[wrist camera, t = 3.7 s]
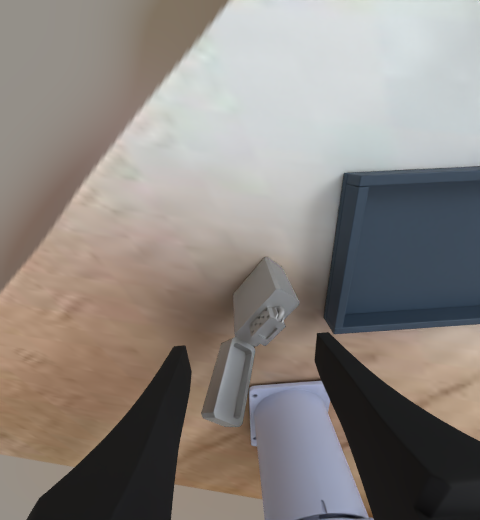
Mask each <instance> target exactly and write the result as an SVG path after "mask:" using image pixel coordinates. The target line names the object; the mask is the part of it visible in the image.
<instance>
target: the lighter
mask: <svg viewBox="0 0 480 520" xmlns="http://www.w3.org/2000/svg"><path fill="white" fill-rule="evenodd" d="M233 305H234V329H235V337H234V338H232V339H230V340H228V341H226V342H223V343H221V346H220V350H219V353H218V356H217V360H216V363H215V367H214V370H213V374H212V377H211V381H210V384H209V388H208V391H207V395H206V398H205V402H204V405H203V409H202V412H201V414H202V417H203V418H204V419H206V420H209V421H211V422H214V423H217V424H219V425H222V426H224V427H239V426H241V425H242V423H243V418H244V412H245V406H246V401H247V395H248V389H249V383H250V378H251V372H252V366H253V361H254V355H255V349H254V347H255V346H258V345H259V344H262V345H264V346H266V345H267V344H268V343H269V342H270V341H271V340H272V339H273V338H274V337H275V336H276V335H277V334H278V333H279V332H281V331H282V330H283V329H284V328H285V327H286V326H285V323H284V319H285V318H286V317H287V316H288V315H289V314H290V313H291V312H292V311H293V310H294V309H295V308H296V307H297V306H298V305H299V300H298V298H297V296H296V294H295V292H294V290H293V288H292V286H291V284H290V282H289V280H288V278H287V276H286V274H285V272H284V270H283V268H282V266H280V265H279V264H277V263H276V262H274V261H273V260H272V259H270V258H269V257H264V259H263V260H262V261H261V262H260V263H259V264H258V266H257V267H256V268H255V269H254V270H253V271H252V273H251V274H250V275H249V276H248V277H247V278H246V280H245V281H244V282H243V283H242V284H241V285H240V287H239V288H238V289H237V290H236V291H235V292H234V294H233Z"/></svg>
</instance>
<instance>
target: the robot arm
mask: <svg viewBox="0 0 480 520" xmlns="http://www.w3.org/2000/svg"><path fill="white" fill-rule="evenodd" d="M315 363H316V366H317V369H318V372H319V375H320V378H321V381H309V382H296V383H282V384H269V385H256V386H251V387H250V388H249V406H250V433H251V445H252V446H257V449H258V459H259V468H260V478H261V488H262V498H263V507H264V516H265V520H373V518H374V520H480V441H478V440H476V439H474V438H472V437H470V436H468V435H467V434H465V433H463V432H461V431H459V430H457V429H456V428H454V427H452V426H450V425H449V424H447V423H445V422H443V421H442V420H440V419H438V418H437V417H435V416H433V415H432V414H430V413H428V412H427V411H425V410H424V409H422V408H421V407H419V406H417V405H416V404H414V403H413V402H411V401H410V400H408V399H407V398H405V397H404V396H402V395H401V394H400V393H398V392H397V391H396V390H394V389H393V388H391V387H390V386H389V385H387V384H386V383H385V382H383V381H382V380H381V379H380V378H378V377H377V376H376V375H375V374H373V373H372V372H371V371H370V370H369V369H367V368H366V367H365V366H364V365H363V364H362V363H361V362H359V361H358V360H357V359H356V358H355V357H354V356H353V355H352V354H351V353H350V352H348V351H347V350H346V349H345V348H344V347H343V346H342V345H341V344H340V343H339V342H338V341H337V340H336V339H335V338H334V337H333V336H332V335H331V334H330V333H329V332H326V333H317V340H316V351H315ZM191 373H192V372H191V367H190V363H189V359H188V354H187V350H186V346H174V347H173V348H172V350H171V352H170V353H169V355H168V357H167V358H166V360H165V361H164V363H163V365H162V366H161V368H160V369H159V371H158V372H157V374H156V375H155V377H154V378H153V380H152V381H151V383H150V384H149V385H148V387H147V388H146V389H145V391H144V392H143V394H142V395H141V396H140V398H139V399H138V400H137V401H136V403H135V404H134V405H133V407H132V408H131V409H130V410H129V411H128V413H127V414H126V415H125V416H124V417H123V418H122V420H121V421H120V422H119V423H118V424H117V425H116V426H115V427H114V428H113V430H112V431H111V432H110V433H109V434H108V435H107V436H106V437H105V438H104V439H103V440H102V441H101V442H100V443H99V444H98V445H97V446H96V447H95V448H94V449H93V450H92V451H91V452H90V453H89V454H88V455H87V456H86V457H85V458H84V459H83V460H82V461H81V462H80V463H79V464H78V465H77V466H76V467H75V468H73V469H72V470H71V471H70V472H69V473H68V474H67V475H66V476H64V477H63V478H62V479H61V480H60V481H59V482H58V483H56V484H55V485H54V486H53V487H52V488H51V489H50V490H48V492H46V493H45V494H44V495H43V496H41V497H40V498H39V500H38V501H37V503H36V505H35V506H34V508H33V509H32V511H31V513H30V514H29V516H28V518H27V520H171V510H172V501H173V491H174V482H175V473H176V465H177V457H178V449H179V443H180V437H181V432H182V428H183V423H184V418H185V413H186V408H187V403H188V398H189V393H190V384H191ZM330 401H331V403H332V405H333V407H334V410H335V412H336V414H337V416H338V418H339V420H340V423H341V425H342V427H343V430H344V432H345V435H346V438H347V440H348V443H349V446H350V449H351V451H352V454H353V457H354V460H355V463H356V466H357V469H358V472H359V475H360V477H361V480H362V483H363V486H364V490H365V493H366V496H367V499H368V502H369V505H370V508H371V511H372V514H373V518H369V517H368V514H367V512H366V509H365V507H364V504H363V502H362V499H361V497H360V494H359V491H358V489H357V486H356V484H355V481H354V479H353V476H352V474H351V471H350V468H349V466H348V463H347V461H346V458H345V456H344V453H343V450H342V448H341V445H340V443H339V440H338V438H337V435H336V433H335V430H334V427H333V425H332V422H331V420H330V417H329V415H328V408H329V403H330Z"/></svg>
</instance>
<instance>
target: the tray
mask: <svg viewBox="0 0 480 520" xmlns="http://www.w3.org/2000/svg"><path fill="white" fill-rule="evenodd" d="M324 319H325V320H326V322H327V324H328V325H329V327H330V329H331V330H332V332H333V334H344V333H359V332H373V331H387V330H402V329H416V328H431V327H445V326H460V325H474V324H480V166H477V167H456V168H435V169H415V170H394V171H373V172H353V173H344V178H343V185H342V192H341V199H340V206H339V213H338V220H337V227H336V234H335V241H334V248H333V255H332V262H331V269H330V277H329V284H328V291H327V298H326V305H325V312H324Z"/></svg>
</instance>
